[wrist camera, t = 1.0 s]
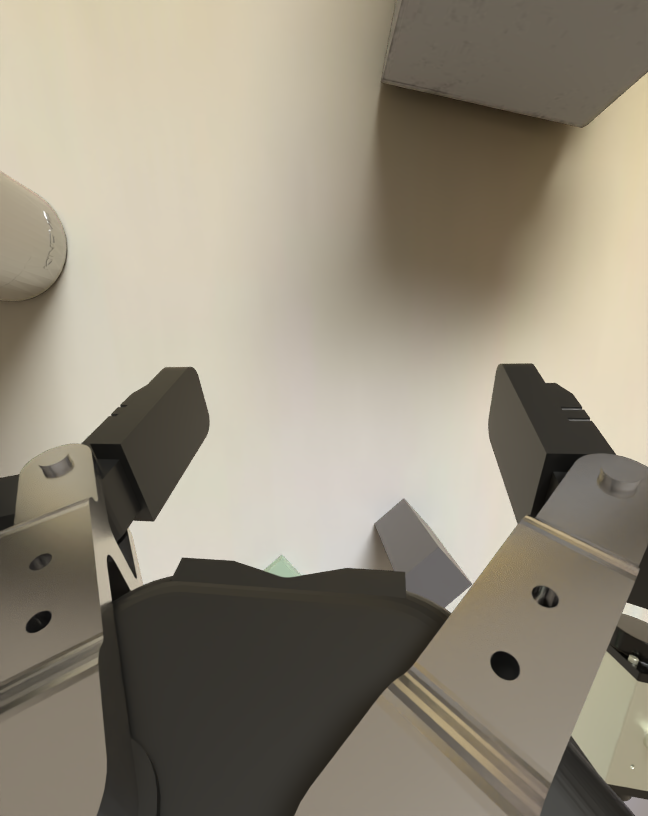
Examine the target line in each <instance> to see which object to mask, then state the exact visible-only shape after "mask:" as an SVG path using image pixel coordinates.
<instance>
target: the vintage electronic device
mask: <svg viewBox="0 0 648 816" xmlns="http://www.w3.org/2000/svg"><path fill="white" fill-rule="evenodd" d="M647 72H648V0H396V4H395V9H394V14H393V20H392V25H391V30H390V36H389V41H388V46H387V52H386V57H385V62H384V68H383V73H382V79H381V83H386V84H390V85H395V86H399V87H403V88H408V89H412V90H417V91H421V92H426V93H430V94H435V95H439V96H443V97H448V98H452V99H457V100H461V101H466V102H470V103H475V104H479V105H483V106H488V107H492V108H497V109H501V110H506V111H510V112H515V113H519V114H523V115H528V116H532V117H537V118H541V119H546V120H550V121H554V122H559V123H563V124H568V125H572V126H577V127H581V128H582V127H584V126H586V125H588V124H589V123H590V122H591V121H592V120H593V119H594V118H596V117H597V116H598V115H599V114H600V113H601V112H602V111H604V110H605V109H606V108H607V107H608V106H609V105H610V104H612V103H613V102H614V101H615V100H616V99H617V98H618V97H620V96H621V95H622V94H623V93H624V92H625V91H626V90H628V89H629V88H630V87H631V86H632V85H633V84H634V83H636V82H637V81H638V80H639V79H640V78H641V77H642V76H644V75H645V74H646V73H647Z"/></svg>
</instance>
